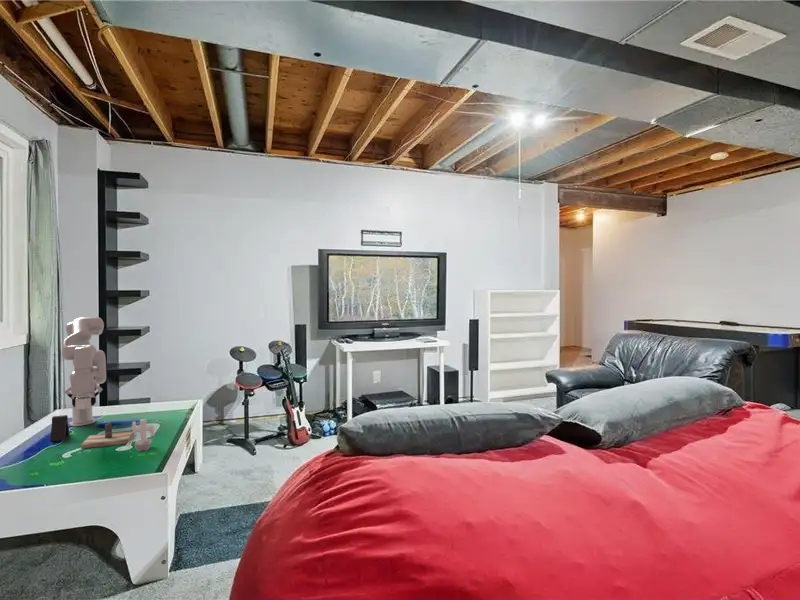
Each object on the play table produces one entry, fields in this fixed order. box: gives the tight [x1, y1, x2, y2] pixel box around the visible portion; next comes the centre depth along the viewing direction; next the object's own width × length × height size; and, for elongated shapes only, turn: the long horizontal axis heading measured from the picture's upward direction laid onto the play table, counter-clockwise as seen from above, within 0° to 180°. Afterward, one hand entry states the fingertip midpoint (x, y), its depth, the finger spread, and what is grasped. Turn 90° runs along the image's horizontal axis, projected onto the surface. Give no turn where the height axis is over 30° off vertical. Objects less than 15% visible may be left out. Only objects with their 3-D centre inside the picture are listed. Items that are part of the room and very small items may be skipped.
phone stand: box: [49, 414, 71, 442], centre depth 228 cm, size 9×6×12 cm, turn 21°
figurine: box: [131, 418, 155, 452], centre depth 213 cm, size 7×9×15 cm
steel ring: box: [75, 396, 94, 409], centre depth 220 cm, size 7×7×5 cm
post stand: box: [80, 422, 135, 449], centre depth 224 cm, size 14×20×9 cm
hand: (84, 405), depth 220 cm, fingers closed on steel ring, 7 cm apart
